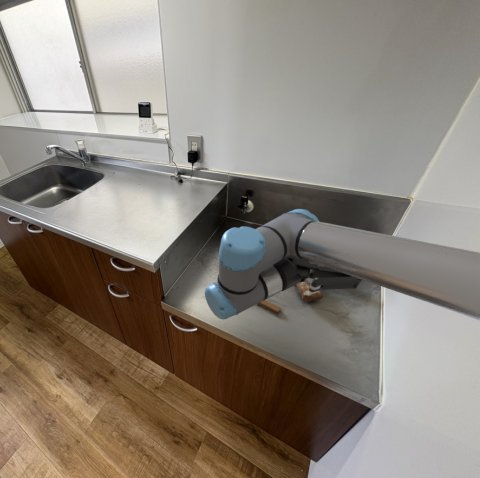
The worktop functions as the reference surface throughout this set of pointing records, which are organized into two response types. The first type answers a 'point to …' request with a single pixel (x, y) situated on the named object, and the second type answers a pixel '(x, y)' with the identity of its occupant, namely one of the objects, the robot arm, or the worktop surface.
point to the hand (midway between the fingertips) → (340, 243)
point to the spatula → (270, 306)
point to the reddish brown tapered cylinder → (308, 293)
